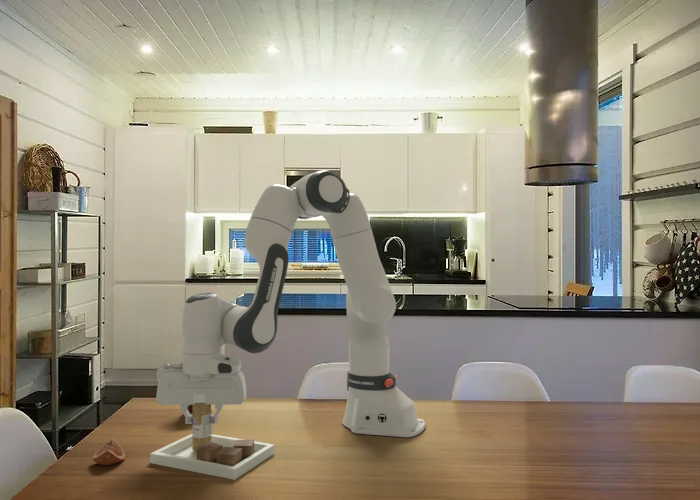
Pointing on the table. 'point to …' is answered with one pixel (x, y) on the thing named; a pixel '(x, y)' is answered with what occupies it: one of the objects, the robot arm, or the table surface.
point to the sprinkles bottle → (201, 422)
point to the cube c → (245, 447)
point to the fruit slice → (109, 453)
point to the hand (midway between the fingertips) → (201, 422)
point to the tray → (185, 459)
